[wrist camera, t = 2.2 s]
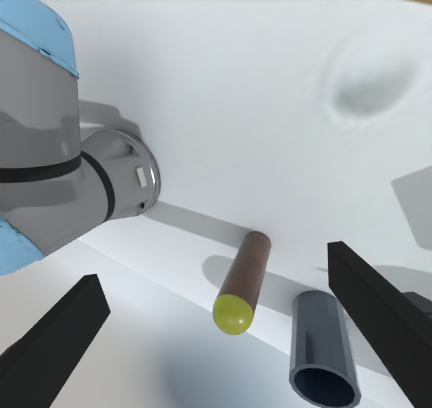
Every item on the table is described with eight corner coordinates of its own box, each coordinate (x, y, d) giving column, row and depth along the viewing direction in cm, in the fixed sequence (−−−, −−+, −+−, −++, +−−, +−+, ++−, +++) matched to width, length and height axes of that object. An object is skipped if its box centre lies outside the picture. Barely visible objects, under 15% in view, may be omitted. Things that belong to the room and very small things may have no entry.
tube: (292, 320, 39) (287, 396, 29) (295, 286, 37) (290, 356, 26) (340, 332, 37) (354, 419, 26) (347, 296, 34) (366, 378, 24)
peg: (244, 253, 38) (207, 338, 24) (243, 230, 36) (204, 306, 22) (270, 257, 36) (248, 350, 22) (271, 233, 34) (248, 317, 21)
